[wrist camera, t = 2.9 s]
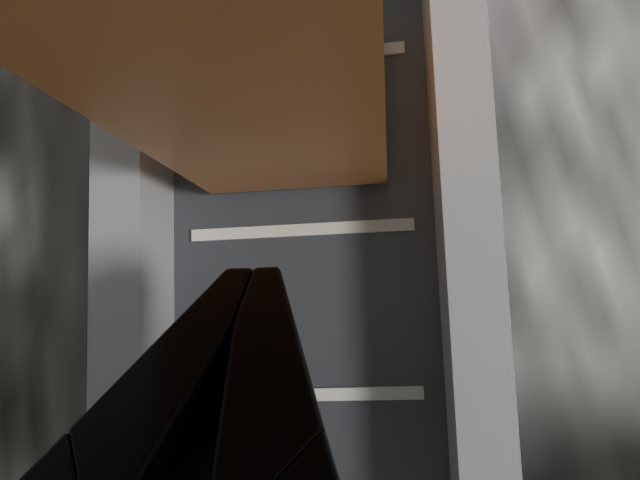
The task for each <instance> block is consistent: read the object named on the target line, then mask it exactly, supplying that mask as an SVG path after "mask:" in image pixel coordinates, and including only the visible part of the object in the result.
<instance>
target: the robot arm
mask: <svg viewBox="0 0 640 480" xmlns="http://www.w3.org/2000/svg"><path fill="white" fill-rule="evenodd" d="M69 434H70V435H69ZM69 434H64V435H63V436H62V437H61V438H60V439H59V440H58V441H57V442H56V443H55V444H54V445H53V446H52V447H51V448H50V449H49V450H48V451H47V452H46V453H45V454H44V455H43V456H42V457H41V458H40V459H39V460H38V461H37V462H36V463H35V464H34V465H33V466H32V467H31V468H30V469H29V470H28V471H27V472H26V473H25V474H24V475H23V476H22V477H21V478H20V479H19V480H340V477H339V474H338V471H337V468H336V465H335V462H334V458H333V455H332V451H331V448H330V444H329V441H328V437H327V435H326V432H325V427H324V424H323V420H322V417H321V413H320V409H319V406H318V402H317V399H316V395H315V391H314V388H313V384H312V381H311V377H310V374H309V370H308V366H307V363H306V359H305V356H304V352H303V348H302V345H301V341H300V338H299V334H298V331H297V327H296V323H295V320H294V316H293V313H292V309H291V305H290V302H289V298H288V295H287V291H286V288H285V284H284V280H283V277H282V273H281V270H280V268H279V267H257V268H255V269H254V270H252V269H251V268H229V269H227V270H225V271H224V272H223V273H222V274H221V275H220V276H219V277H218V278H217V279H216V280H215V281H214V282H213V283H212V284H211V285H210V286H209V287H208V288H207V289H206V290H205V291H204V292H203V293H202V294H201V295H200V296H199V297H198V298H197V299H196V300H195V301H194V302H193V303H192V304H191V305H190V306H189V307H188V308H187V309H186V310H185V311H184V312H183V314H182V315H181V316H180V317H179V318H178V319H177V320H176V321H175V322H174V323H173V324H172V325H171V326H170V327H169V328H168V329H167V330H166V331H165V332H164V333H163V334H162V335H161V336H160V337H159V338H158V339H157V340H156V341H155V342H154V343H153V344H152V345H151V346H150V347H149V348H148V349H147V350H146V351H145V352H144V353H143V354H142V355H141V356H140V357H139V359H138V360H137V361H136V362H135V363H134V364H133V365H132V366H131V367H130V368H129V369H128V370H127V371H126V372H125V373H124V374H123V375H122V376H121V377H120V378H119V379H118V380H117V381H116V382H115V383H114V384H113V385H112V386H111V387H110V388H109V389H108V390H107V391H106V392H105V393H104V394H103V395H102V396H101V397H100V398H99V399H98V400H97V401H96V402H95V403H94V405H93V406H92V407H91V408H90V409H89V410H88V411H87V412H86V413H85V414H84V415H83V416H82V417H81V418H80V419H79V420H78V421H77V422H76V423H75V424H74V425H73V426H72V427H71V428H70V430H69Z"/></svg>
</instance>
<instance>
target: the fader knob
mask: <svg viewBox="0 0 640 480" xmlns="http://www.w3.org/2000/svg"><path fill="white" fill-rule="evenodd" d="M0 66H2V67H3V68H5V69H7V70H8V71H10V72H12V73H13V74H15V75H17V76H18V77H20V78H21V79H23V80H25V81H26V82H28V83H30V84H31V85H33V86H35V87H36V88H38V89H40V90H41V91H43V92H44V93H46V94H48V95H49V96H51V97H53V98H54V99H56V100H58V101H59V102H61V103H63V104H64V105H66V106H67V107H69V108H71V109H72V110H74V111H76V112H77V113H79V114H81V115H82V116H84V117H86V118H87V119H89V120H91V121H92V122H94V123H95V124H97V125H99V126H100V127H102V128H104V129H105V130H107V131H109V132H110V133H112V134H114V135H115V136H117V137H118V138H120V139H122V140H123V141H125V142H127V143H128V144H130V145H132V146H133V147H135V148H137V149H138V150H140V151H141V152H143V153H145V154H146V155H148V156H150V157H151V158H153V159H155V160H156V161H158V162H160V163H161V164H163V165H165V166H166V167H168V168H169V169H171V170H173V171H174V172H176V173H178V174H179V175H181V176H183V177H184V178H186V179H188V180H189V181H191V182H192V183H194V184H196V185H197V186H199V187H201V188H202V189H204V190H206V191H207V192H209V193H211V194H218V193H235V192H251V191H267V190H283V189H300V188H316V187H332V186H348V185H365V184H381V183H387V148H386V108H385V68H384V27H383V0H0Z"/></svg>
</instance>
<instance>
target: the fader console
mask: <svg viewBox="0 0 640 480" xmlns="http://www.w3.org/2000/svg"><path fill="white" fill-rule="evenodd" d="M383 27H384V68H385V108H386V148H387V183H381V184H365V185H348V186H332V187H316V188H300V189H283V190H267V191H251V192H235V193H218V194H211V193H209V192H207V191H206V190H204V189H202V188H201V187H199V186H197V185H196V184H194V183H192V182H191V181H189V180H188V179H186V178H184V177H183V176H181V175H179V174H178V173H176V172H174V171H173V170H171V169H169V168H168V167H166V166H165V165H163V164H161V163H160V162H158V161H156V160H155V159H153V158H151V157H150V156H148V155H146V154H145V153H143V152H141V151H140V150H138V149H137V148H135V147H133V146H132V145H130V144H128V143H127V142H125V141H123V140H122V139H120V138H118V137H117V136H115V135H114V134H112V133H110V132H109V131H107V130H105V129H104V128H102V127H100V126H99V125H97V124H95V123H94V122H92V121H91V120H90V158H89V242H88V326H87V411H88V410H89V409H90V408H91V407H92V406H93V405H94V403H95V402H96V401H97V400H98V399H99V398H100V397H101V396H102V395H103V394H104V393H105V392H106V391H107V390H108V389H109V388H110V387H111V386H112V385H113V384H114V383H115V382H116V381H117V380H118V379H119V378H120V377H121V376H122V375H123V374H124V373H125V372H126V371H127V370H128V369H129V368H130V367H131V366H132V365H133V364H134V363H135V362H136V361H137V360H138V359H139V357H140V356H141V355H142V354H143V353H144V352H145V351H146V350H147V349H148V348H149V347H150V346H151V345H152V344H153V343H154V342H155V341H156V340H157V339H158V338H159V337H160V336H161V335H162V334H163V333H164V332H165V331H166V330H167V329H168V328H169V327H170V326H171V325H172V324H173V323H174V322H175V321H176V320H177V319H178V318H179V317H180V316H181V315H182V314H183V312H184V311H185V310H186V309H187V308H188V307H189V306H190V305H191V304H192V303H193V302H194V301H195V300H196V299H197V298H198V297H199V296H200V295H201V294H202V293H203V292H204V291H205V290H206V289H207V288H208V287H209V286H210V285H211V284H212V283H213V282H214V281H215V280H216V279H217V278H218V277H219V276H220V275H221V274H222V273H223V272H224V271H225V270H227V269H229V268H251V269H252V270H254V269H255V268H257V267H279V268H280V270H281V273H282V277H283V280H284V284H285V288H286V291H287V295H288V298H289V302H290V305H291V309H292V313H293V316H294V320H295V323H296V327H297V331H298V334H299V338H300V341H301V345H302V348H303V352H304V356H305V359H306V363H307V366H308V370H309V374H310V377H311V381H312V384H313V388H314V391H315V395H316V399H317V402H318V406H319V409H320V413H321V417H322V420H323V424H324V427H325V432H326V435H327V437H328V441H329V444H330V448H331V451H332V455H333V458H334V462H335V465H336V468H337V471H338V474H339V477H340V480H523V479H522V465H521V452H520V439H519V425H518V412H517V399H516V385H515V372H514V358H513V345H512V332H511V318H510V305H509V291H508V278H507V265H506V251H505V238H504V225H503V211H502V198H501V184H500V171H499V158H498V144H497V131H496V118H495V104H494V91H493V77H492V64H491V51H490V37H489V24H488V10H487V0H383ZM87 411H86V412H87Z"/></svg>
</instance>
